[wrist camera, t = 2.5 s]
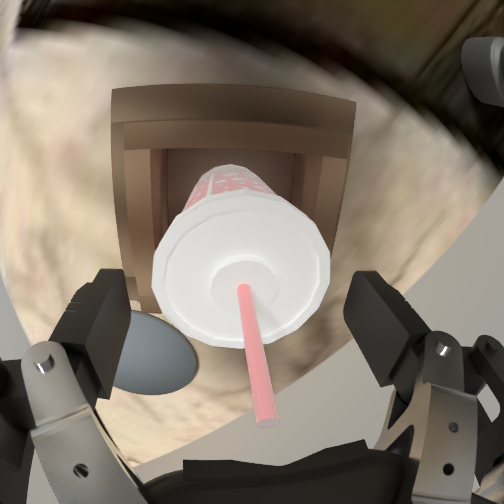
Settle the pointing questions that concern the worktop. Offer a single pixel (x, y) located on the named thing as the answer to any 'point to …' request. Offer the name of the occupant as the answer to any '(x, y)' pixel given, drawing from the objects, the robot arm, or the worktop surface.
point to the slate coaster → (154, 357)
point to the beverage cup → (241, 271)
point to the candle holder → (484, 68)
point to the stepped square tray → (220, 137)
